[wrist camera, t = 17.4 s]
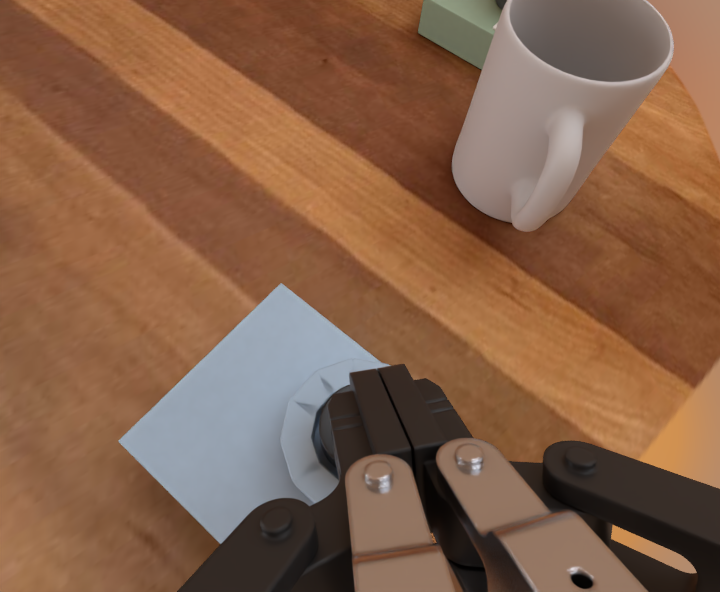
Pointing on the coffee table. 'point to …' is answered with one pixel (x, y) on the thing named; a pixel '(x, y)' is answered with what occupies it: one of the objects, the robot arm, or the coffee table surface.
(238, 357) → the button box
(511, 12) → the mug
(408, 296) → the coffee table surface
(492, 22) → the panel
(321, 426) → the button
